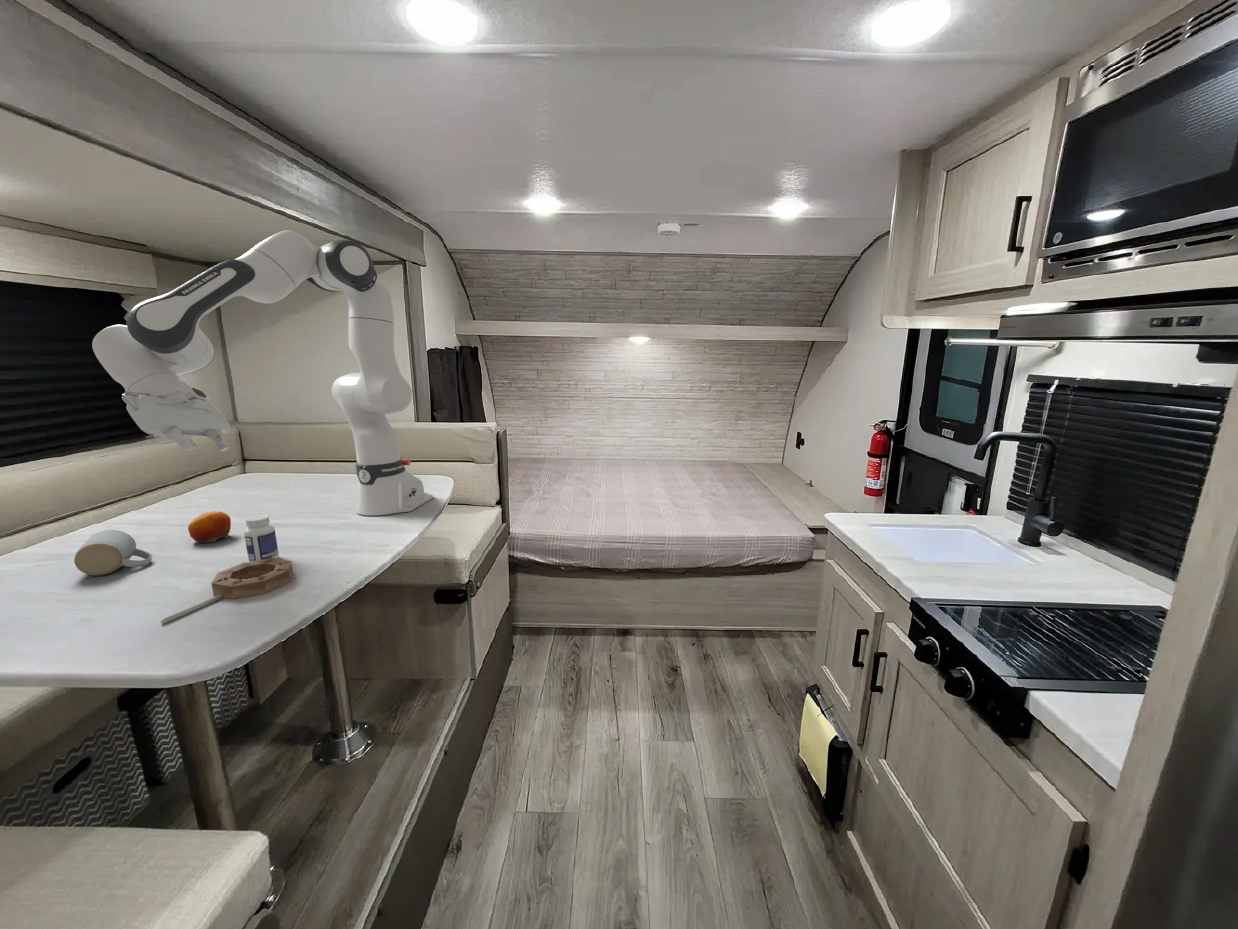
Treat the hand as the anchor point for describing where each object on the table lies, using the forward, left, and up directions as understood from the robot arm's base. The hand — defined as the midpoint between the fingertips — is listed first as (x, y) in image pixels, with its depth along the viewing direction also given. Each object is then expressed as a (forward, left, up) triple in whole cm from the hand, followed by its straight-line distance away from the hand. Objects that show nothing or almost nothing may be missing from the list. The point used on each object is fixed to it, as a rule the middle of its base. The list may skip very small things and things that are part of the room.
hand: (208, 449), depth 103 cm
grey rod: (+18, +17, -25) cm, 35 cm away
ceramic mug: (+10, -17, -25) cm, 32 cm away
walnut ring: (+7, +17, -25) cm, 31 cm away
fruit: (-8, -16, -25) cm, 30 cm away
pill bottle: (-2, +8, -25) cm, 26 cm away
